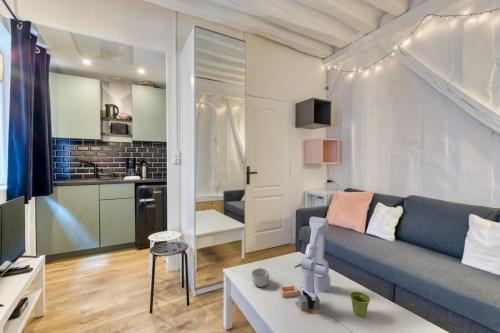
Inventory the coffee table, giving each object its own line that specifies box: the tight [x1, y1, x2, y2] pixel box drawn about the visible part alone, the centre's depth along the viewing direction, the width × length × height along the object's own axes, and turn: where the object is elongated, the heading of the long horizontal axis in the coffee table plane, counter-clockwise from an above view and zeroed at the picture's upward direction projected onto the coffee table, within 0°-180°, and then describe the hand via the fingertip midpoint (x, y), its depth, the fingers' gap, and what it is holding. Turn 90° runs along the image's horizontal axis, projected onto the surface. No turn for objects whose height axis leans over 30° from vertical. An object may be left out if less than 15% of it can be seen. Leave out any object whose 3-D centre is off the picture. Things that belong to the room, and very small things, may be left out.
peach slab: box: [279, 284, 299, 299], centre depth 132 cm, size 9×6×3 cm, turn 98°
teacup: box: [251, 266, 270, 288], centre depth 144 cm, size 14×11×8 cm
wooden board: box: [294, 301, 324, 316], centre depth 120 cm, size 12×10×1 cm
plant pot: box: [349, 290, 371, 318], centre depth 116 cm, size 9×9×9 cm
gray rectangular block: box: [297, 293, 321, 311], centre depth 120 cm, size 10×5×5 cm, turn 98°
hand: (308, 305), depth 120 cm, fingers closed on gray rectangular block, 5 cm apart
